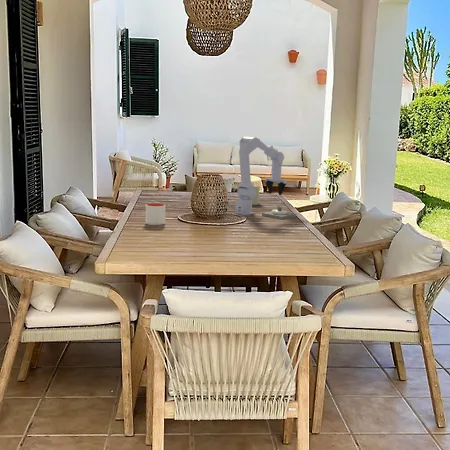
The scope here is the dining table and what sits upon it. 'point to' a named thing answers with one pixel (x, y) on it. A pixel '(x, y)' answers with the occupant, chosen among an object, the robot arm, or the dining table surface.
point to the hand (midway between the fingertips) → (275, 194)
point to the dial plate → (288, 215)
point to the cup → (155, 214)
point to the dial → (279, 211)
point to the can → (256, 195)
